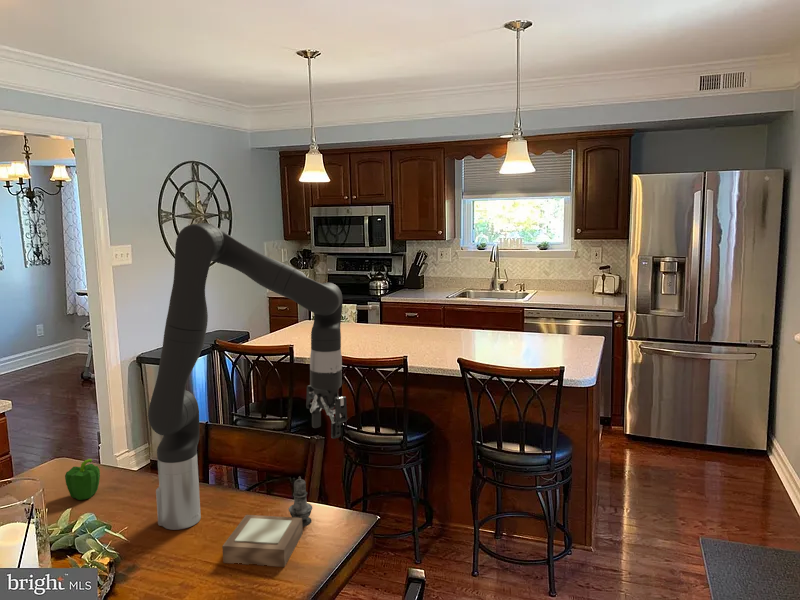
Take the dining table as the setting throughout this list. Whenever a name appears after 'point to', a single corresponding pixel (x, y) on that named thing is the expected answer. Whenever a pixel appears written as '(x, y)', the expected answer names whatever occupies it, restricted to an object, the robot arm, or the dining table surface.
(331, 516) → the dining table surface
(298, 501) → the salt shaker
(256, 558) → the base block
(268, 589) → the dining table surface
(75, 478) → the bell pepper
